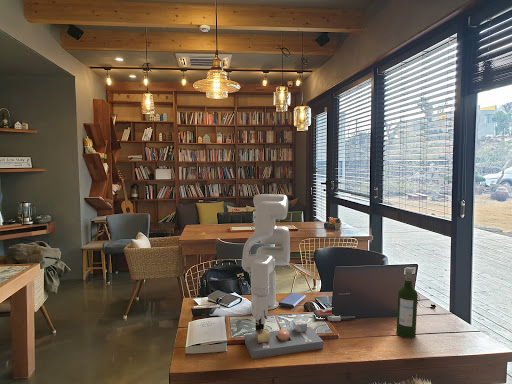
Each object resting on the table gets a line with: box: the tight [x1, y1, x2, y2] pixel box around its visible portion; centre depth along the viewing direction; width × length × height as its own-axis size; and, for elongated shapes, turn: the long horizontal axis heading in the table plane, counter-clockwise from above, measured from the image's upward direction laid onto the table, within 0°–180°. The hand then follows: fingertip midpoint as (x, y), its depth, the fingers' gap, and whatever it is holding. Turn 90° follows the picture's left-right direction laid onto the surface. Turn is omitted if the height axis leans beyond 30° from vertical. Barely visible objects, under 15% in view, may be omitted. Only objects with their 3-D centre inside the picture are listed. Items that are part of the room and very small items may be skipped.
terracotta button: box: [277, 328, 289, 342], centre depth 143 cm, size 5×5×3 cm
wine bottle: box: [396, 266, 419, 339], centre depth 152 cm, size 8×8×30 cm
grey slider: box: [292, 318, 308, 333], centre depth 149 cm, size 4×5×4 cm
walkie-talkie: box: [313, 307, 356, 322], centre depth 169 cm, size 9×4×20 cm
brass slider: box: [254, 328, 270, 343], centre depth 140 cm, size 4×5×4 cm
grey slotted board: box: [243, 326, 324, 360], centre depth 143 cm, size 13×30×3 cm, turn 105°
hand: (259, 332), depth 144 cm, fingers closed
